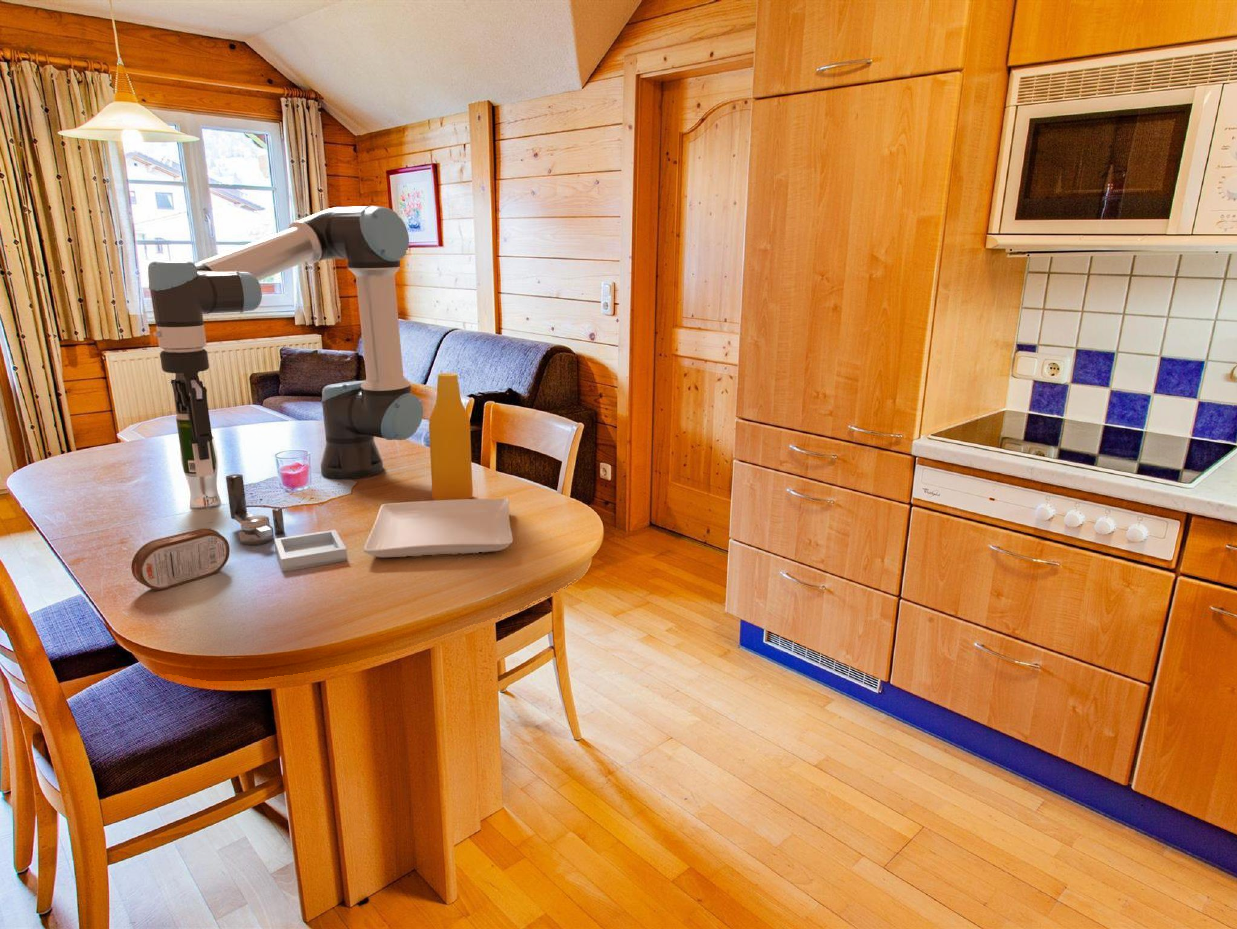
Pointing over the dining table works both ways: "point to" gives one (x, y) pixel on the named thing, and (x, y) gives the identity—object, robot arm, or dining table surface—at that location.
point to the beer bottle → (450, 443)
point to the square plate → (440, 528)
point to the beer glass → (204, 488)
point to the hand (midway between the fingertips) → (200, 471)
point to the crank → (240, 511)
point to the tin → (180, 558)
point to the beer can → (188, 444)
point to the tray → (310, 550)
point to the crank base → (255, 539)
